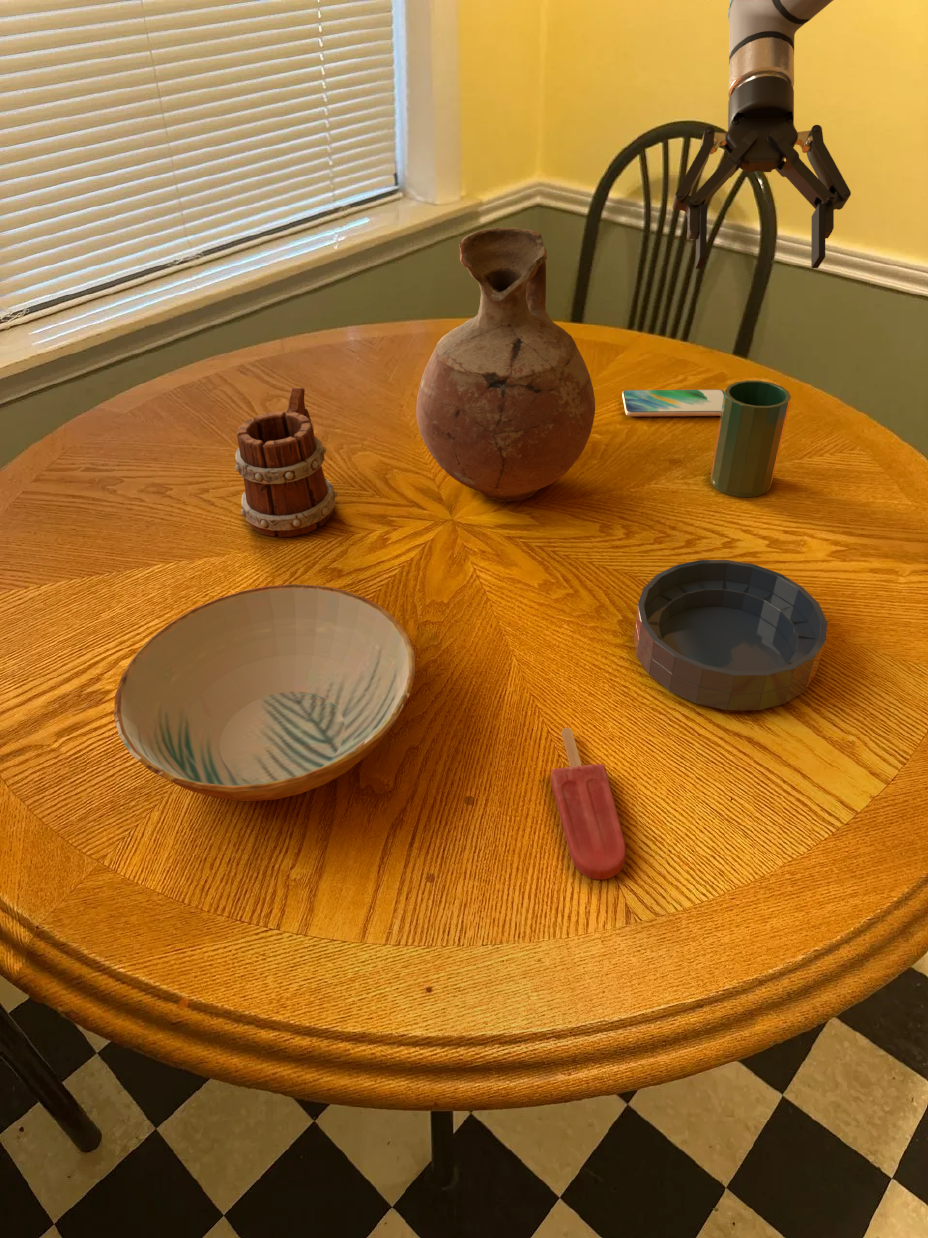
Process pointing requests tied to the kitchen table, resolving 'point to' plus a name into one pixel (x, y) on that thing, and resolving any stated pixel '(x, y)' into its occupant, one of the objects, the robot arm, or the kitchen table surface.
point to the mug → (283, 472)
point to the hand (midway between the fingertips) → (759, 263)
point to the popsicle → (588, 815)
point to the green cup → (749, 437)
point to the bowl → (265, 691)
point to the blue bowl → (729, 634)
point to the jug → (506, 378)
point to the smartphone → (673, 402)
